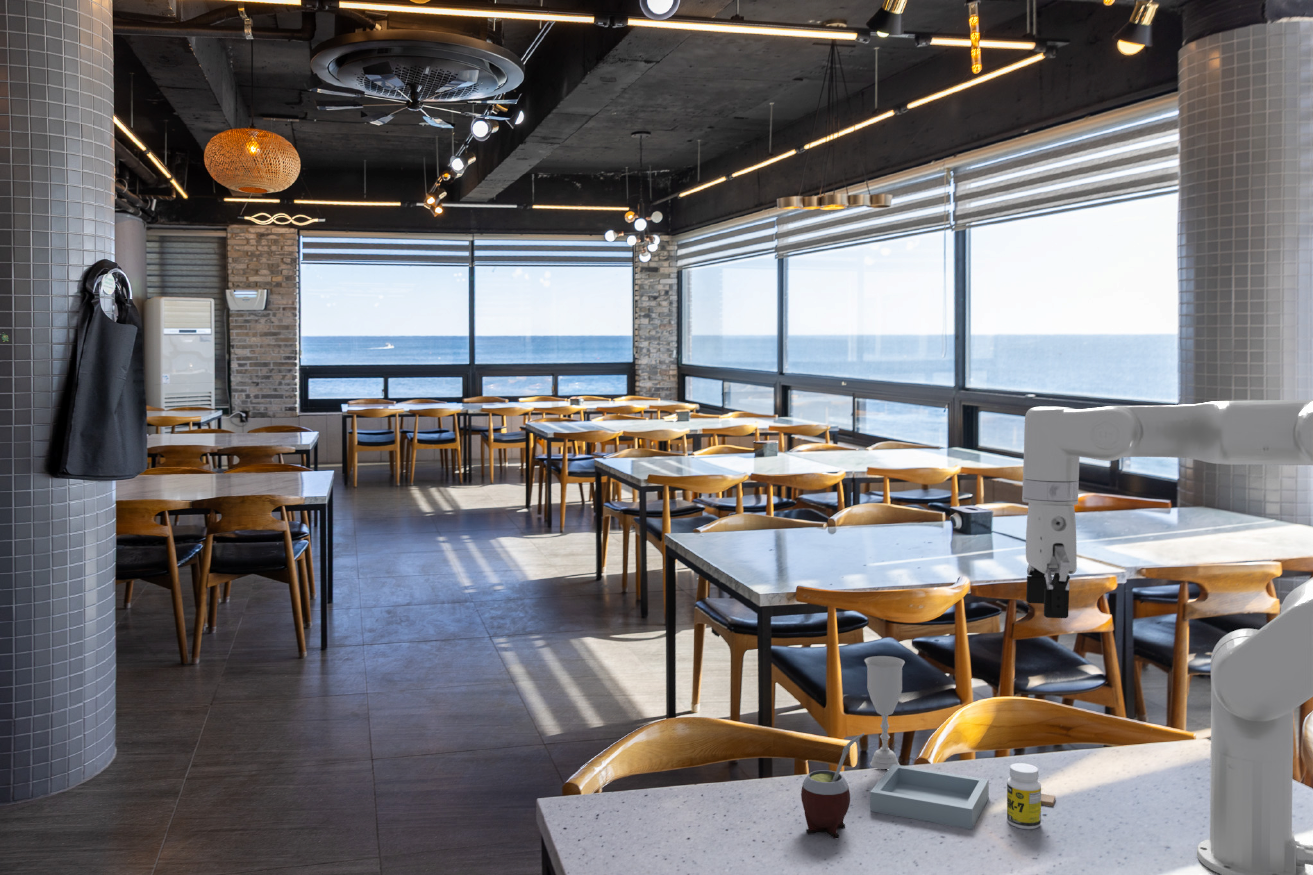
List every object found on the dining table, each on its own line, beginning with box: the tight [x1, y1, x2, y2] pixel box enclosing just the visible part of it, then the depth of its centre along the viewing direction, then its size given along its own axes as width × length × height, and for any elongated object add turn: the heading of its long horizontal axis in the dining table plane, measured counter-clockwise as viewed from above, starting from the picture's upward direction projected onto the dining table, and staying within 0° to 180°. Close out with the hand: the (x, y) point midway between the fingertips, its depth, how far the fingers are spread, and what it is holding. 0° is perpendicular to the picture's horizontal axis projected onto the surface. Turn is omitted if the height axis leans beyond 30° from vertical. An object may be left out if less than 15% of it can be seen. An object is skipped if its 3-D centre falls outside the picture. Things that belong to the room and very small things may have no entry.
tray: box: [869, 764, 990, 830], centre depth 160 cm, size 15×13×3 cm
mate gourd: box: [800, 732, 865, 840], centre depth 151 cm, size 8×8×15 cm
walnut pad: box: [1041, 793, 1056, 807], centre depth 161 cm, size 6×3×1 cm, turn 62°
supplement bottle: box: [1006, 762, 1042, 830], centre depth 152 cm, size 5×5×8 cm
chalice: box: [863, 655, 906, 770], centre depth 177 cm, size 7×7×18 cm
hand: (1046, 609), depth 149 cm, fingers open, 9 cm apart
